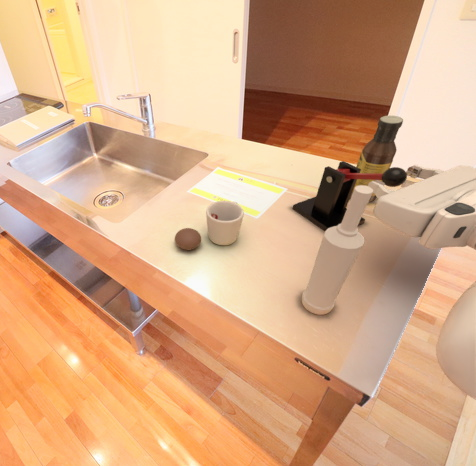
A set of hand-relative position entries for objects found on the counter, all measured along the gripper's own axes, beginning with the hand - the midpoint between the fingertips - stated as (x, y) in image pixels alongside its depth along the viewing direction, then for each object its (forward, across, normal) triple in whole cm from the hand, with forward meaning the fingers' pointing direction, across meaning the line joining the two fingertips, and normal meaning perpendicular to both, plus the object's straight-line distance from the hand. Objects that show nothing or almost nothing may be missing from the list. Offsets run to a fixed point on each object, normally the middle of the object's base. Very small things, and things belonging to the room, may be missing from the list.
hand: (390, 176), depth 59 cm
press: (+10, 0, +16) cm, 18 cm away
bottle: (-9, +21, +16) cm, 28 cm away
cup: (+15, +24, +16) cm, 33 cm away
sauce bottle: (+11, -13, +16) cm, 23 cm away
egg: (+16, +33, +16) cm, 40 cm away
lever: (+4, 0, +4) cm, 5 cm away
